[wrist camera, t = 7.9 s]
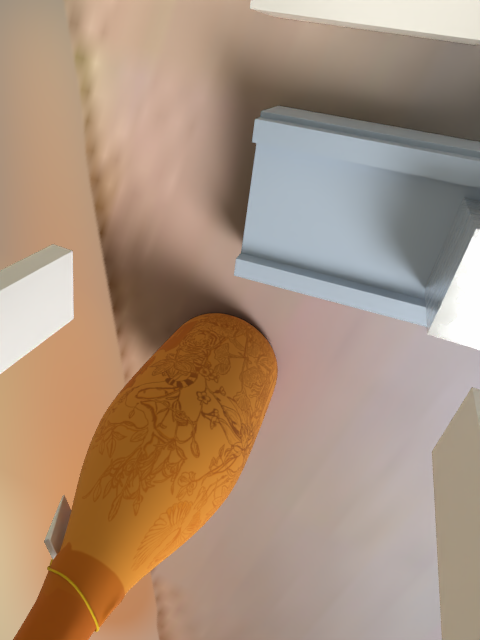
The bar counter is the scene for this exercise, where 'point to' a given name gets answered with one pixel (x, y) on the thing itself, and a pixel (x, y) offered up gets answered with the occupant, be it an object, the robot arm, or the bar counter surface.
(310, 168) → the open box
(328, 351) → the bar counter surface
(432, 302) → the grey long rectangular block
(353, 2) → the cradle
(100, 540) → the wine bottle
